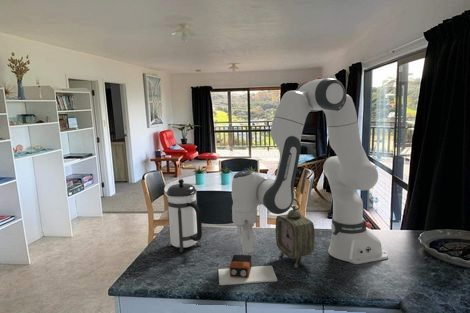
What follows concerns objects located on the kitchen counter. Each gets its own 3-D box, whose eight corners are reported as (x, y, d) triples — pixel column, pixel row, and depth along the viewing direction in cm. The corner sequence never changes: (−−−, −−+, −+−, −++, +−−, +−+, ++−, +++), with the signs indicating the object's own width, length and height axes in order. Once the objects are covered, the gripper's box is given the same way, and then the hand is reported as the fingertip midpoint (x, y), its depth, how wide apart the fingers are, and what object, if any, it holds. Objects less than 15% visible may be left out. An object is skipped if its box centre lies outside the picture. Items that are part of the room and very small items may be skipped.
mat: (271, 267, 122) (271, 265, 122) (277, 281, 112) (277, 279, 112) (218, 270, 121) (218, 269, 120) (219, 285, 111) (219, 283, 111)
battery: (251, 265, 122) (248, 279, 112) (233, 264, 123) (229, 278, 114) (251, 254, 122) (248, 268, 112) (233, 254, 123) (228, 267, 113)
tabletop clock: (275, 255, 132) (275, 195, 128) (294, 250, 135) (295, 192, 131) (295, 271, 118) (295, 205, 115) (315, 266, 122) (316, 201, 118)
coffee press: (161, 254, 135) (156, 183, 131) (173, 238, 151) (169, 175, 146) (202, 255, 133) (199, 184, 129) (209, 239, 149) (207, 175, 144)
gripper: (258, 226, 105) (258, 266, 107) (250, 207, 125) (250, 241, 127) (238, 227, 105) (239, 267, 107) (233, 208, 125) (234, 242, 127)
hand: (245, 253), depth 117 cm, fingers closed
